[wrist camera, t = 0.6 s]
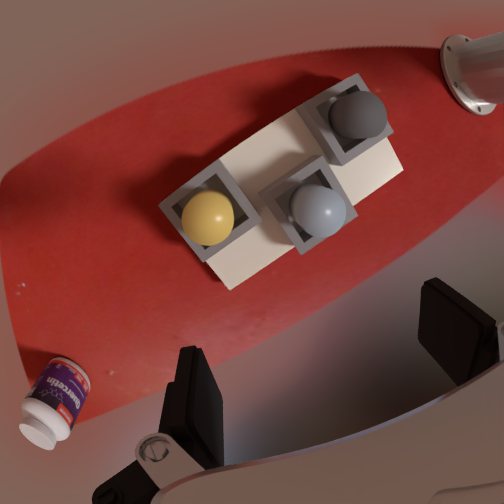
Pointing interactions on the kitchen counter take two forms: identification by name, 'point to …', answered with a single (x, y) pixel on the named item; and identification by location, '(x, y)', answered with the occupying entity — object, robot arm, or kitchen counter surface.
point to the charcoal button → (358, 116)
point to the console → (284, 183)
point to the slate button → (317, 209)
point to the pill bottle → (54, 403)
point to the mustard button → (208, 217)
